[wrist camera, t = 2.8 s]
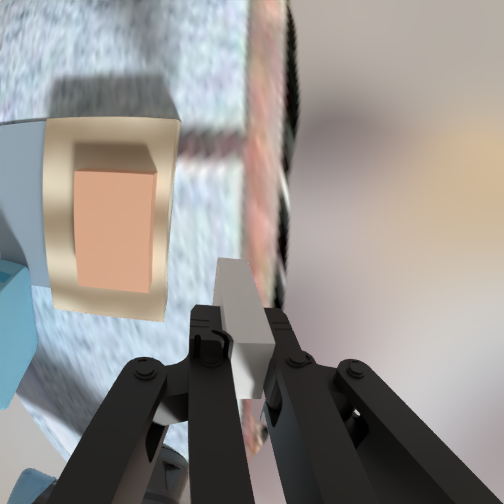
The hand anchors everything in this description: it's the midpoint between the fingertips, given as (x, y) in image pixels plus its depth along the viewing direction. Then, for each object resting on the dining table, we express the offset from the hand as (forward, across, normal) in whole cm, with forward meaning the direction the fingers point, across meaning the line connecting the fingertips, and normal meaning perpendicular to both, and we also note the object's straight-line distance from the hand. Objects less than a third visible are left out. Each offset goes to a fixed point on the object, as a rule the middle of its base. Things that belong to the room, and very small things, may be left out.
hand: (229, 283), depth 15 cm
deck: (+13, +10, 0) cm, 16 cm away
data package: (+12, +23, +12) cm, 28 cm away
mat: (+13, +20, 0) cm, 23 cm away
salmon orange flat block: (+9, +8, 0) cm, 12 cm away
